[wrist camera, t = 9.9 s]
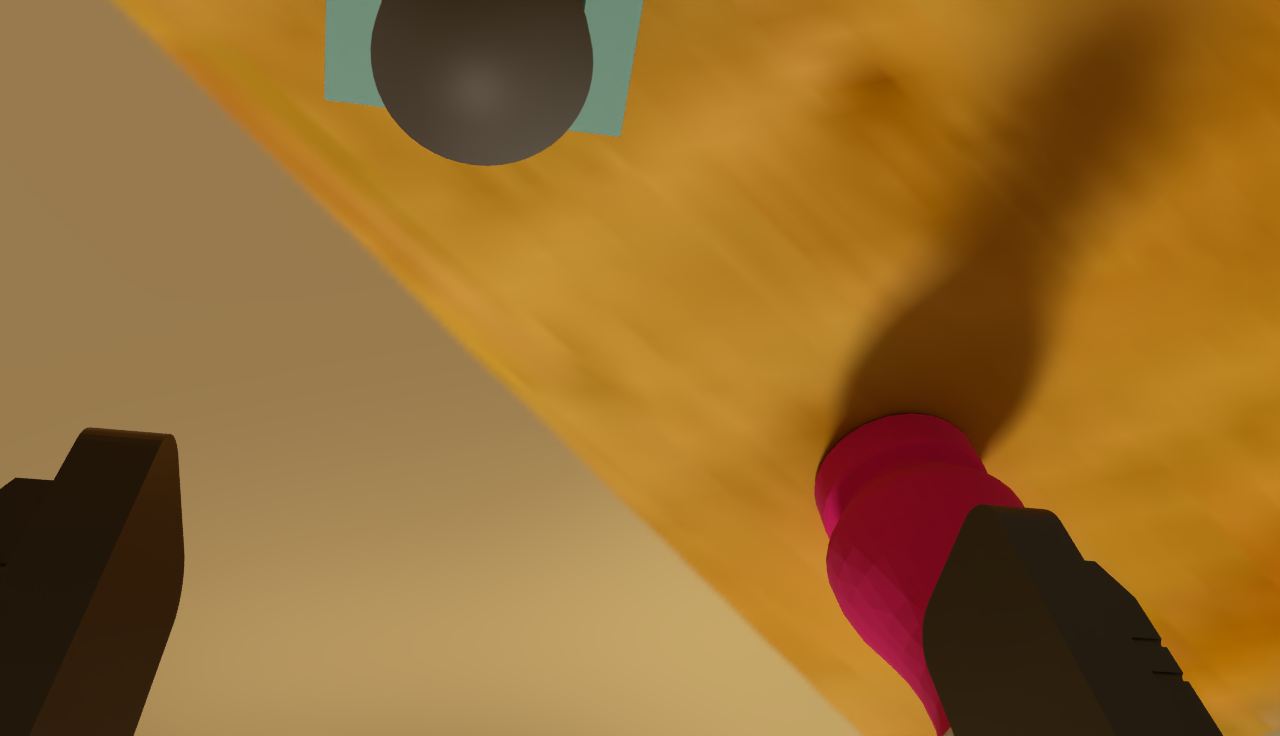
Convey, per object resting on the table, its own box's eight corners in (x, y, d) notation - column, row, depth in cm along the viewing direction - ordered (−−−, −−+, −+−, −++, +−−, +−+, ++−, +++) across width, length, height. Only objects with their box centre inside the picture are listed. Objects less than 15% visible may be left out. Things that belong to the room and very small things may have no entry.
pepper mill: (814, 402, 40) (1034, 956, 23) (1006, 397, 40) (1353, 930, 24) (790, 550, 44) (963, 1113, 27) (965, 543, 44) (1237, 1087, 28)
